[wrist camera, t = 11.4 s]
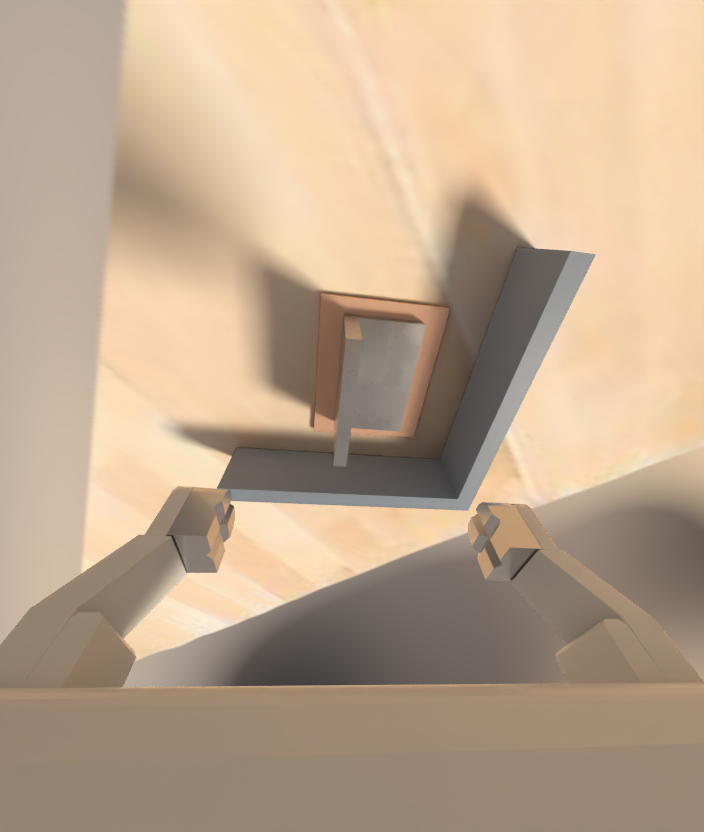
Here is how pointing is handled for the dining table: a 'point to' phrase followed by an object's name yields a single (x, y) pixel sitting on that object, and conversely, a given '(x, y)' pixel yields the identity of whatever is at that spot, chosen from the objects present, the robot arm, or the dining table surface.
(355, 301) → the mat
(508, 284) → the grey l-shaped piece
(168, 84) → the dining table surface
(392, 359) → the angle bracket
